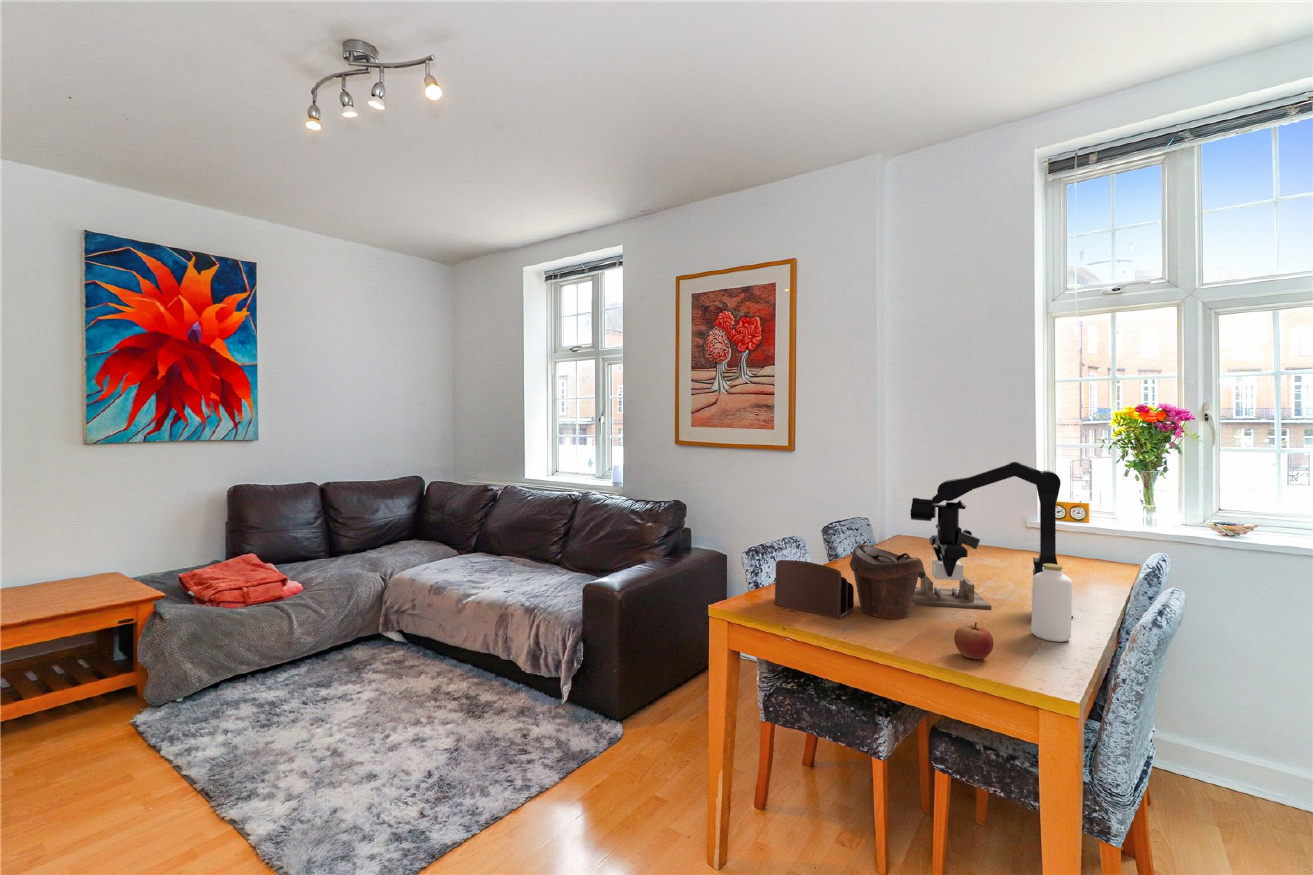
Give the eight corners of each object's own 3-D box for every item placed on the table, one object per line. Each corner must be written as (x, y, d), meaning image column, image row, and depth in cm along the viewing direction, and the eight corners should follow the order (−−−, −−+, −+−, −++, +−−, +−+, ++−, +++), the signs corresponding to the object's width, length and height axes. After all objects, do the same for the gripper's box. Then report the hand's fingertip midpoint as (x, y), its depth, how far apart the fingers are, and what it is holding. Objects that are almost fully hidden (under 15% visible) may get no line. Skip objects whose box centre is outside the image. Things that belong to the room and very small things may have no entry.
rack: (991, 609, 174) (991, 588, 174) (916, 604, 178) (917, 584, 178) (973, 593, 190) (974, 574, 190) (905, 589, 194) (906, 570, 193)
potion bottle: (1033, 629, 158) (1035, 559, 157) (1072, 636, 153) (1074, 565, 152) (1028, 637, 151) (1030, 565, 151) (1068, 646, 146) (1071, 571, 146)
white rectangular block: (935, 579, 182) (936, 564, 182) (931, 575, 187) (932, 560, 187) (963, 580, 180) (963, 565, 180) (958, 576, 185) (958, 561, 185)
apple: (983, 651, 143) (984, 617, 142) (999, 665, 135) (1000, 629, 134) (948, 649, 143) (948, 616, 143) (961, 663, 135) (962, 627, 135)
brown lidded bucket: (932, 625, 160) (932, 556, 160) (852, 620, 164) (853, 553, 164) (917, 605, 178) (917, 544, 177) (845, 601, 182) (846, 541, 181)
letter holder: (839, 620, 164) (840, 568, 164) (773, 605, 177) (774, 557, 177) (854, 611, 172) (854, 561, 172) (790, 597, 185) (790, 551, 184)
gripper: (987, 529, 172) (986, 584, 173) (967, 518, 191) (966, 568, 191) (945, 527, 175) (944, 581, 175) (929, 517, 193) (928, 566, 193)
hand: (947, 574), depth 184 cm, fingers closed on white rectangular block, 5 cm apart
